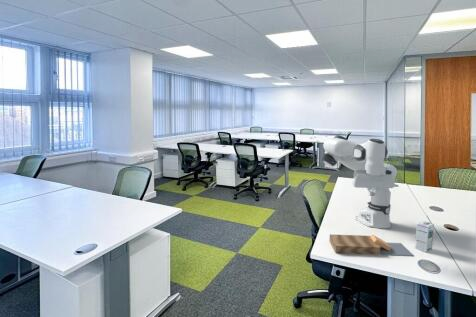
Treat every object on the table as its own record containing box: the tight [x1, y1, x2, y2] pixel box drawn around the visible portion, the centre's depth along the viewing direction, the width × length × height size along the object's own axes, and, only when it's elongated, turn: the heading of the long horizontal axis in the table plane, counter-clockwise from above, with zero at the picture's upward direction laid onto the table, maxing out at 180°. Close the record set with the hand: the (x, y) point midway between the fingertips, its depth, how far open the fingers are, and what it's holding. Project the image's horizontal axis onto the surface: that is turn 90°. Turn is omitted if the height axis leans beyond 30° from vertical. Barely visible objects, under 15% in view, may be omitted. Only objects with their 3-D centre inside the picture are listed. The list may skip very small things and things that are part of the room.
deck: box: [329, 233, 381, 256], centre depth 153 cm, size 22×14×4 cm, turn 85°
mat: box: [379, 242, 415, 257], centre depth 151 cm, size 16×14×1 cm
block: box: [370, 234, 391, 251], centre depth 151 cm, size 9×6×2 cm
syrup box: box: [414, 220, 435, 253], centre depth 150 cm, size 6×6×14 cm
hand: (372, 195), depth 151 cm, fingers closed
